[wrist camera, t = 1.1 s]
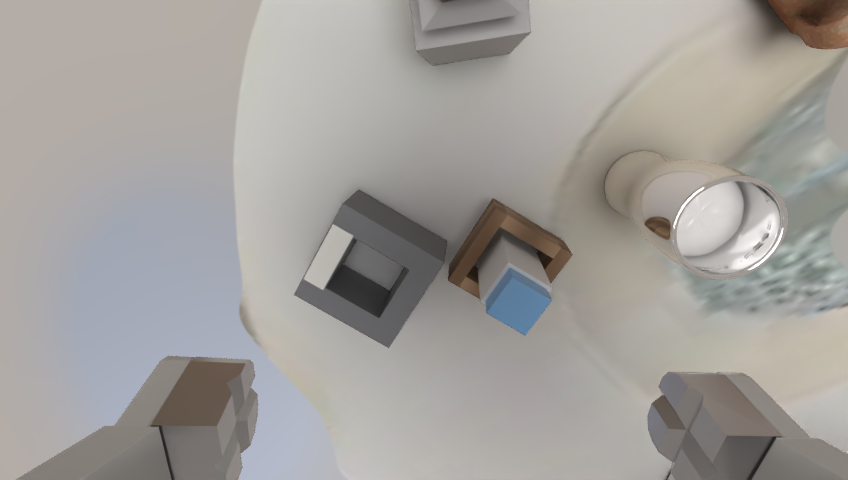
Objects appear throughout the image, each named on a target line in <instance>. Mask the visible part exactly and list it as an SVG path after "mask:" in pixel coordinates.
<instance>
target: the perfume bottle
mask: <svg viewBox="0 0 848 480" xmlns="http://www.w3.org/2000/svg"><path fill="white" fill-rule="evenodd" d="M410 8H411V15H412V22H413V30H414V37H415V45H416V51H417V52H418V53H419V54H420V55H422V56H423V57H424V58H425V59H426V60H427V61H428V62H429V63H430V64H431V65H432V66H434V65H440V64H447V63H453V62H459V61H466V60H472V59H478V58H485V57H491V56H497V55H504V54H510V53H511V52H512V51H513V50H514V48H515V47H516V46H517V45H518V44H519V43H520V42H521V41H522V40H523V39H524V38H525V37H526V36H527V35H528V34H529V33H530V32H531V27H530V11H529V0H410Z"/></svg>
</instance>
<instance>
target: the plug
mask: <svg viewBox="0 0 848 480" xmlns="http://www.w3.org/2000/svg"><path fill="white" fill-rule="evenodd" d="M477 265H478V280H479V294H480V303H482V304H483V305H485V306H486V313H487V314H489V315H490V316H492V317H494V318H496V319H497V320H499V321H501V322H503V323H504V324H506V325H508V326H509V327H511V328H513V329H515V330H516V331H518V332H520V333H522V334H523V335H526V334H527V332H528V331H529V330H530V328H531V327H532V326H533V325H534V323H535V322H536V321H537V319H538V318H539V317H540V315H541V314H542V313H543V312H544V310H545V309H546V308H547V306H548V305H549V304H550V302H551V301H552V300H551V297H550V295H549V293H550V291H551V290H552V289H553V288H552V286H551V283H550V281H549V279H548V277H547V275H546V272H545V270H544V268H543V266H542V264H541V261H540V259H539V257H538V255H537V253H536V250H535V248H534V247H533V246H531V245H530V244H528V243H526V242H525V241H523V240H521V239H520V238H518V237H516V236H515V235H513V234H511V233H510V232H508V231H506V230H505V229H503V228H501V227H499V229H498V230H497V232H496V233H495V235H494V236H493V238H492V239H491V240H490V242H489V243H488V245H487V246H486V248H485V249H484V251H483V252H482V254H481V255H480V257H479V258H478V260H477Z"/></svg>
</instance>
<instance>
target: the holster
mask: <svg viewBox="0 0 848 480" xmlns="http://www.w3.org/2000/svg"><path fill="white" fill-rule="evenodd" d="M499 227H501V228H503V229H505V230H506V231H508V232H510V233H511V234H513V235H515V236H516V237H518V238H520V239H521V240H523V241H525V242H526V243H528V244H530V245H531V246H533V247H535V248H536V249H538V250H540V251H541V252H540V253H539V254H538V257H539V259H540V261H541V264H542V266H543V268H544V270H545V272H546V275H547V277H548V279H549V281H550V283H552V281H553V280H554V279H555V277H556V276H557V275H558V273H559V272H560V271H561V269H562V268H563V267H564V265H565V264H566V263H567V261H568V260H569V259H570V257H571V256H572V255H573V254H572V253H571V251H570V250H569V249H568V247H567V246H566V244H565V243H564V241H563V240H561V239H559V238H558V237H556V236H554V235H553V234H551V233H549V232H548V231H546V230H544V229H543V228H541V227H539V226H538V225H536V224H535V223H533V222H531V221H530V220H528V219H526V218H525V217H523V216H521V215H520V214H518V213H516V212H515V211H513V210H511V209H510V208H508V207H506V206H505V205H503V204H501V203H500V202H498V201H496V200H495V199H493V200H492V201H491V203H490V204H489V206H488V207H487V209H486V210H485V212H484V213H483V215H482V216H481V218H480V219H479V221H478V222H477V224H476V225H475V227H474V228H473V230H472V232H471V233H470V235H469V236H468V238H467V239H466V241H465V242H464V244H463V245H462V247H461V248H460V250H459V251H458V253H457V254H456V256H455V257H454V259H453V260H452V262H451V263H450V265H449V275H448V281H450V282H451V283H453V284H455V285H457V286H458V287H460V288H462V289H464V290H465V291H467V292H469V293H470V294H472V295H474V296H476V297H477V298H479V299H480V294H479V280H478V268H476V267H474V264H475V263H476V261H477V260H478V258H479V257H480V255H481V254H482V252H483V251H484V249H485V248H486V246H487V245H488V243H489V242H490V240H491V239H492V238H493V236H494V235H495V233H496V232H497V230H498V229H499Z"/></svg>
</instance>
